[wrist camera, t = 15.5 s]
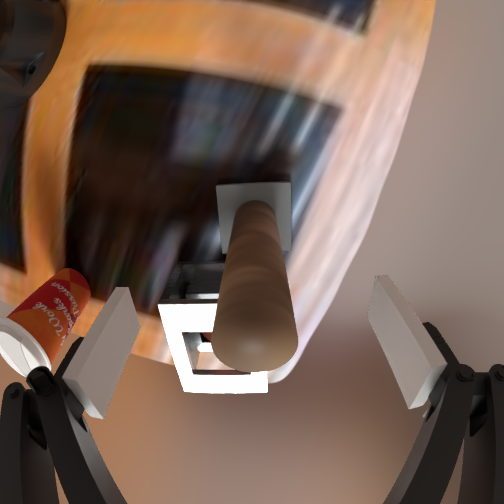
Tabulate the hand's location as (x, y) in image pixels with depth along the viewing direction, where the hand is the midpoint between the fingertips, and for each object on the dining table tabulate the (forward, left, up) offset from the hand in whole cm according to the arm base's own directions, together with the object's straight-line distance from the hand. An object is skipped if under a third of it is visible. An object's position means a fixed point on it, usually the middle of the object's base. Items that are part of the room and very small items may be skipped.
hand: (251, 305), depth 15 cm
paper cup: (-24, -8, -15) cm, 29 cm away
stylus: (0, 0, -15) cm, 15 cm away
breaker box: (-4, -11, -15) cm, 19 cm away
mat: (0, 0, -15) cm, 15 cm away
